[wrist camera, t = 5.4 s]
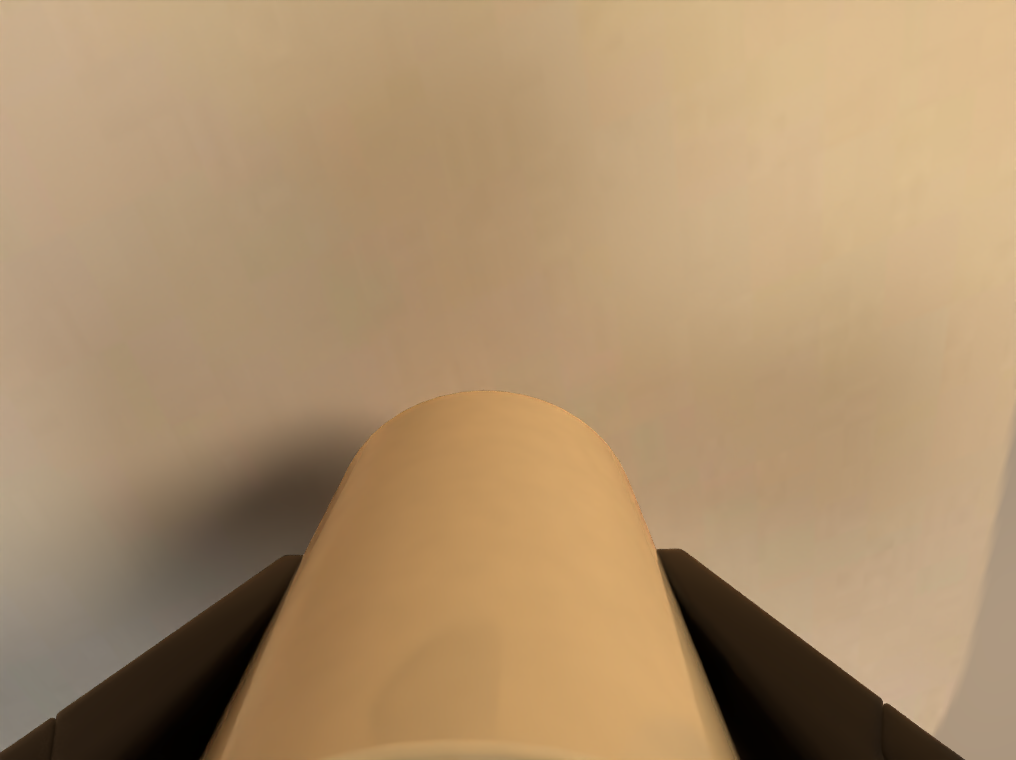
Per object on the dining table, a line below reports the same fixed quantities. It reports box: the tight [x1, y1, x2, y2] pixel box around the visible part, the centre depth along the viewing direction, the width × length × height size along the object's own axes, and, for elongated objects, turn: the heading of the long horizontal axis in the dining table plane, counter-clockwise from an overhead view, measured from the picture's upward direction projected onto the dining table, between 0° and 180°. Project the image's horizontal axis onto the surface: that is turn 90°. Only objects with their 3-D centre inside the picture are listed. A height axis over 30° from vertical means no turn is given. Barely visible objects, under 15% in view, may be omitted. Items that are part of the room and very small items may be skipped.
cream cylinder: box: [199, 390, 740, 760], centre depth 7 cm, size 5×5×6 cm
